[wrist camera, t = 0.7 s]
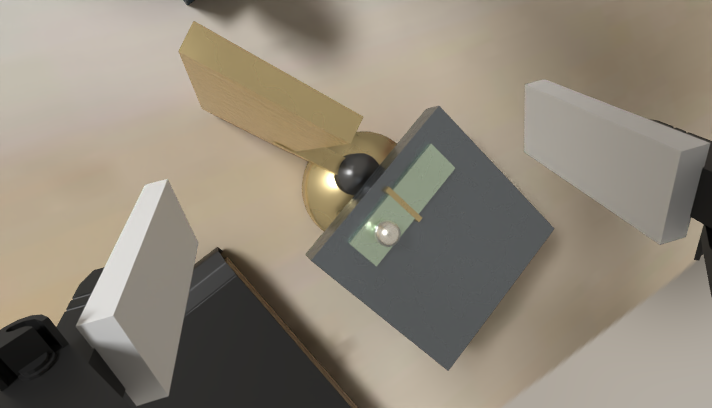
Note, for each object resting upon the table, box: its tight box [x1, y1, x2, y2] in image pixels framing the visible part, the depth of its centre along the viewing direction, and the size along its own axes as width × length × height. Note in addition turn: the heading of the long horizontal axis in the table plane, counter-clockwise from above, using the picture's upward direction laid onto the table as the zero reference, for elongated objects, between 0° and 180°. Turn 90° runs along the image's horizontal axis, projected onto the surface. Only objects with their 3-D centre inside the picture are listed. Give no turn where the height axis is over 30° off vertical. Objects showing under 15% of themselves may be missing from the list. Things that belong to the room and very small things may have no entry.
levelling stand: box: [306, 106, 554, 371], centre depth 33 cm, size 14×14×9 cm
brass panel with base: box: [179, 21, 397, 231], centre depth 26 cm, size 9×17×18 cm, turn 78°
